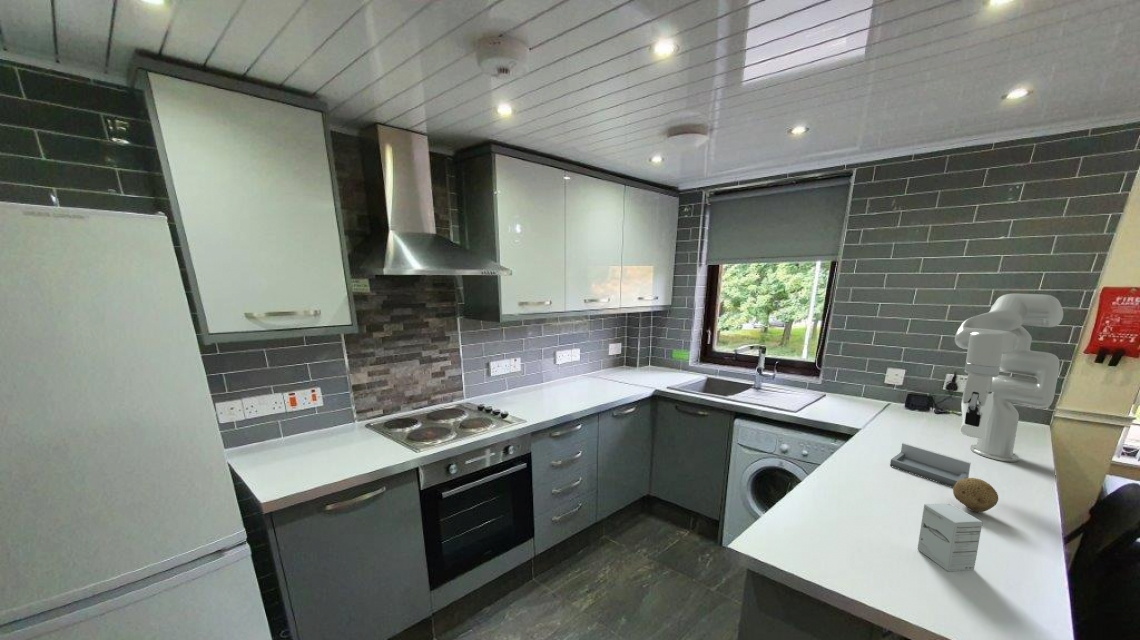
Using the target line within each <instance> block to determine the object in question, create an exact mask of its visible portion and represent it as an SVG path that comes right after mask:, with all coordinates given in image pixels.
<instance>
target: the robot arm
mask: <svg viewBox="0 0 1140 640" xmlns="http://www.w3.org/2000/svg"><path fill="white" fill-rule="evenodd" d="M1063 318H1064V310H1063V306H1062V304H1061V301H1060V300H1059V299H1058V298H1057V297H1056V296H1054V295H1050V294H1041V293H1039V294H1037V293H1035V294H1034V293H1007V294H1003V295H1001V296H999V297H998V298H997V299H996V300H995V302H994V303H993V305H991V308H990V309H989V311H988V312H985V313H981V314H979V315H978V314H977V315H974V316H972V317H968V318H967V319H964V321H962V323H960V324H961V325H960V326H959V327H958V329H957V331H956V333H955V336H954V343H955V345H956V346H957V347H958V348H960V349H963V350H967V353H966V360H965V363H964V373H966V374H967V377H966V381H965V386H964V388H965V391H964V390H963V392H964V396H963V395H962V396H963V403H966V402H968V401H969V404H968V409H967V412H966V417H965V424H967V425H971V426H976V427H979V424H980V417H981V415H980V410H981V406H984V405H985V403H986V400H987V396H988V394H990V391H991V392H993V393H994V396H993V408H992V411H991V414H990V416H989V419H988V421H987V423H986V428H985V431H986V438H976V439H977V441H976V444H972V445H970V446H969V447H970V451H972V452H973V453H975V454H978V455H979V456H982V457H986V458H989V459H991V460H992V459H993V460H996V461H1001V462H1002V461H1003V462H1008V463H1009V462H1010V463H1015V462H1018V461H1019V458H1020V457H1019V456H1018V455H1017V454H1015V453H1014V448H1015V441H1016V436H1017V431H1018V430H1017V429H1018V424H1019V419H1020V415H1019V411H1018V410H1017V409H1016V407H1015V406H1014V405H1013V403H1014V404H1018V405H1025V406H1030V407H1034V408H1039V409H1041V408H1042V409H1043V408H1044V409H1045V408H1049V407H1050V406H1052V404H1053V402H1054V400H1055V399H1054V398H1055V393H1056V389H1057V388H1056V387H1057V383H1058V378H1059V374H1060V364H1061V363H1060V360H1059V357H1058V356H1057V355H1056V354H1053V353H1050V352H1047V351H1037V350H1031V345H1032V341H1033V339H1032V338H1033V337H1032V335H1031V334H1030V333H1029V331H1028V330H1027V329H1026V328H1025V327H1024V326H1030V327H1041V328H1042V327H1043V328H1054V327H1057V326H1059V325H1060V324H1061V322H1062V321H1063ZM1000 372H1003V373H1009V374H1014V375H1021V376H1027V377H1033V378H1035V379H1036V380H1033V379H1027V378H1021V377H1014V376H1009V375H1001V374H1000ZM978 397H979V398H978ZM970 398H971V399H970ZM977 400H978V401H979V402H980V404H979V405H977ZM976 406H977V407H978V408H977V407H976ZM977 409H978V410H977Z"/></svg>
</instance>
